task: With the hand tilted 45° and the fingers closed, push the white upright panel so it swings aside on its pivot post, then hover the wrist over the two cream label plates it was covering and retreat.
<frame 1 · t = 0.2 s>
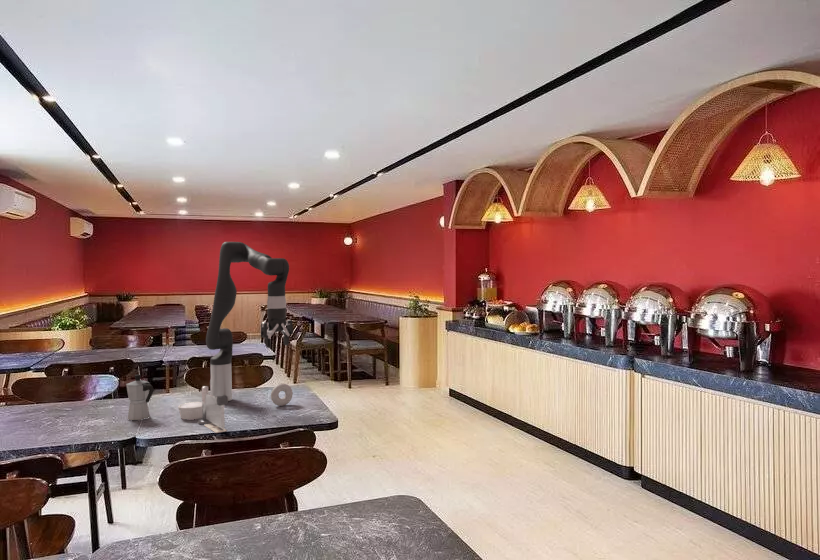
hand: (277, 346, 239), 29 cm above the table, tool pointing down, fingers open, 8 cm apart
ramekin: (193, 417, 242), on the table
pivot base: (205, 422, 233), on the table
label a: (211, 426, 227), on the table
donut: (282, 406, 259), on the table
coffee maker: (140, 418, 240), on the table
white upright panel: (213, 407, 225), point 8 cm above the table, hinge at 0.0°
label b: (218, 430, 222), on the table
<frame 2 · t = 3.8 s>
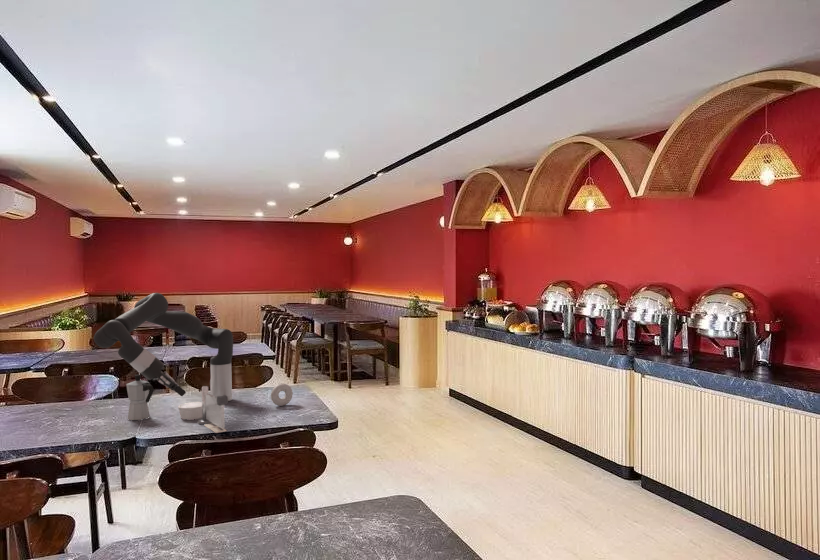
hand: (183, 394, 216), 15 cm above the table, tool tilted 45°, fingers closed
nothing on the table moved.
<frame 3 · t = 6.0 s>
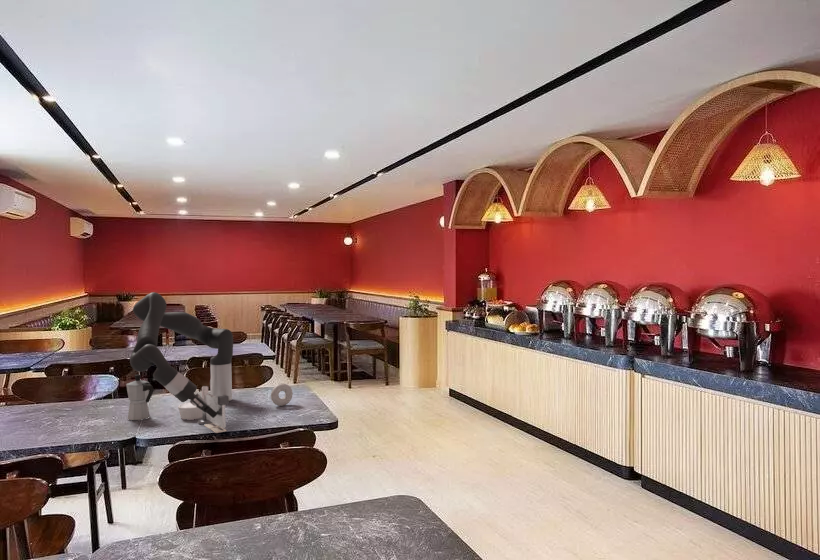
hand: (215, 415, 221), 6 cm above the table, tool tilted 45°, fingers closed
white upright panel: (214, 407, 226), point 8 cm above the table, hinge at 1.1°, touching gripper
everything else where it was.
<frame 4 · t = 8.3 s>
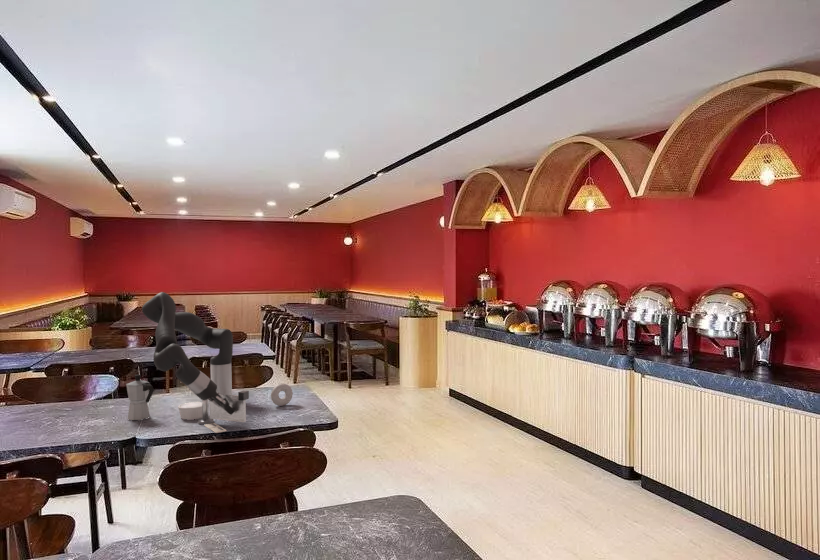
hand: (232, 412, 226), 6 cm above the table, tool tilted 45°, fingers closed
white upright panel: (224, 404, 229), point 8 cm above the table, hinge at 30.2°, touching gripper
everything else where it was.
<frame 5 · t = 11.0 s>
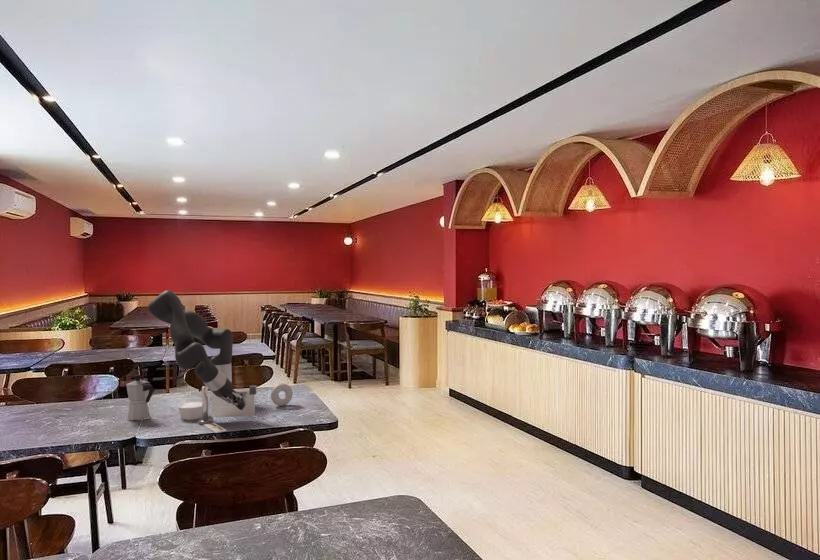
hand: (242, 407, 233), 6 cm above the table, tool tilted 45°, fingers closed
white upright panel: (229, 401, 234), point 8 cm above the table, hinge at 60.1°, touching gripper
everything else where it was.
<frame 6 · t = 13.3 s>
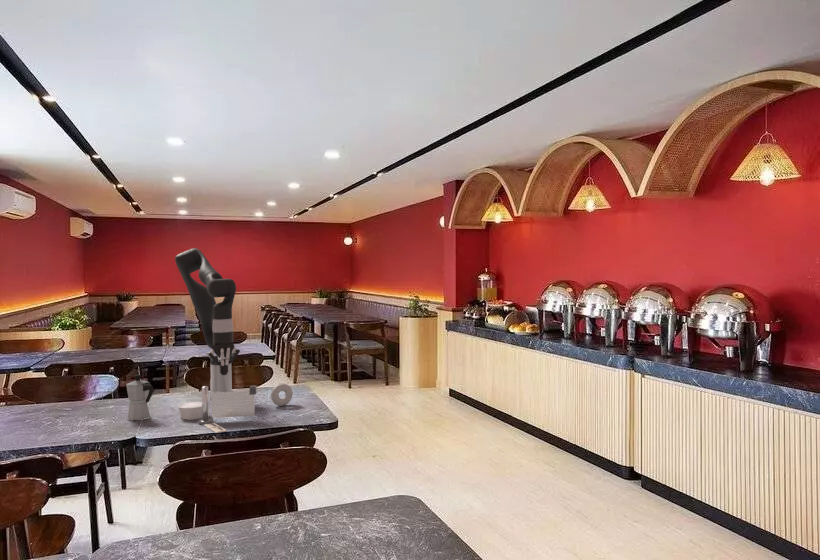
hand: (224, 374, 226), 20 cm above the table, tool pointing down, fingers closed
white upright panel: (229, 401, 234), point 8 cm above the table, hinge at 60.2°
everything else where it was.
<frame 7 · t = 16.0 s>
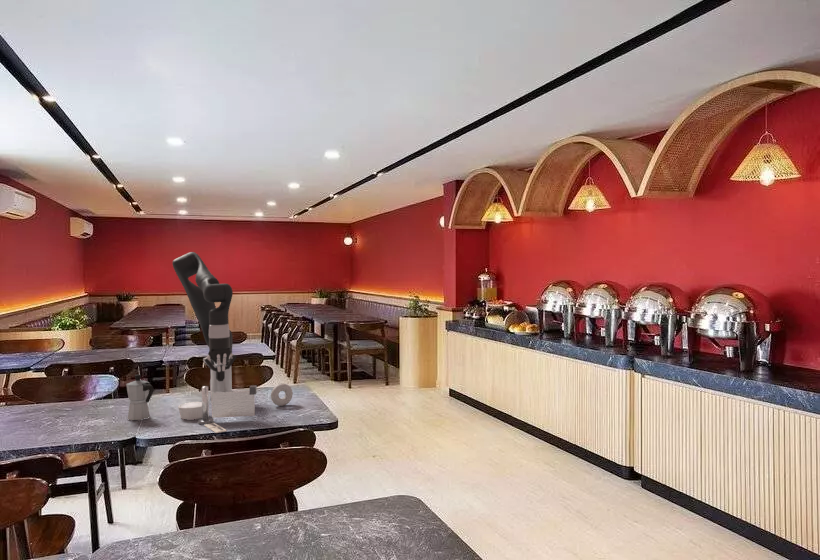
hand: (220, 380, 224), 18 cm above the table, tool pointing down, fingers closed
nothing on the table moved.
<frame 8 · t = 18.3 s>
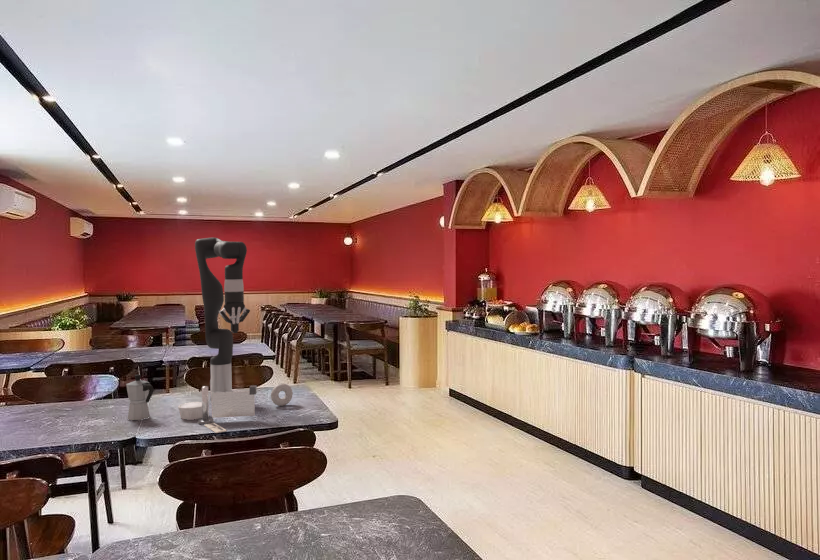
hand: (234, 332, 239), 35 cm above the table, tool pointing down, fingers closed
nothing on the table moved.
at the end: white upright panel at +60° (first picture: +0°) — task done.
